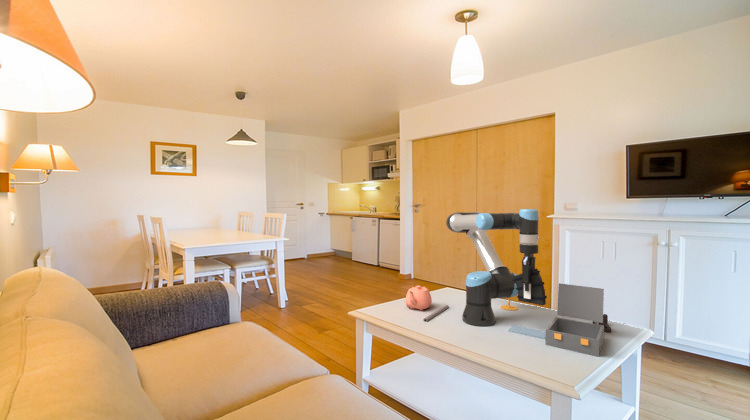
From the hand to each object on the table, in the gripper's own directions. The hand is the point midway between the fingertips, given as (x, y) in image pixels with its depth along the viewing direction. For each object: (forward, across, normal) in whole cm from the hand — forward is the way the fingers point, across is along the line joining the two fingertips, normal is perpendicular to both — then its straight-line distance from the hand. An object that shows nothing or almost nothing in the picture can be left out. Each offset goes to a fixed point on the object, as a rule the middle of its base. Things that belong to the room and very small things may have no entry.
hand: (528, 297), depth 151 cm
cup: (+16, +32, +18) cm, 40 cm away
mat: (+16, 0, 0) cm, 16 cm away
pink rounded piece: (+16, +1, +57) cm, 59 cm away
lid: (+2, +12, -18) cm, 21 cm away
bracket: (+16, +27, -24) cm, 40 cm away
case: (+16, +2, -18) cm, 24 cm away
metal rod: (+16, -2, +44) cm, 47 cm away
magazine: (+2, 0, 0) cm, 2 cm away
